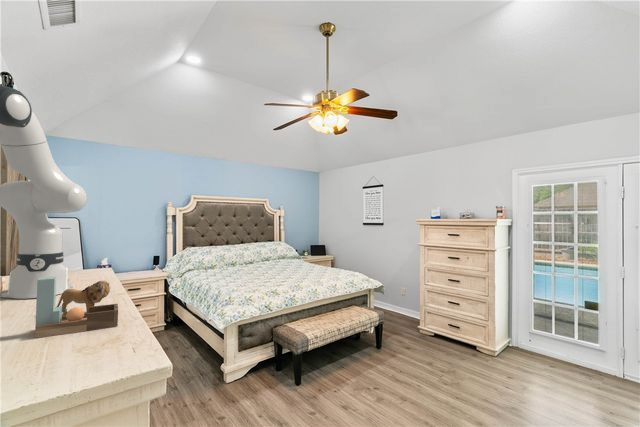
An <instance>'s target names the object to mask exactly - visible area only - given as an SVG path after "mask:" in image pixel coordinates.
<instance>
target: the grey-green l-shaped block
mask: <svg viewBox="0 0 640 427" xmlns="http://www.w3.org/2000/svg"><path fill="white" fill-rule="evenodd" d="M56 296H57V295H56V277H43V278H39V279H38V280H37V298H36V305H35V306H36V307H35V326H34V327H35V329H36V326H40V325H47V324H55V323H61V319H62V316H63V311H62V305H61V306H59V307H57V306H56V301H57V300H56Z"/></svg>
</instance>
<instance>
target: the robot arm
mask: <svg viewBox="0 0 640 427" xmlns="http://www.w3.org/2000/svg"><path fill="white" fill-rule="evenodd" d="M36 115H37V114H35V112H34V111H33V110H32V106H31V103H30V101H29V99H28V97H26V96H25V94H23V93H22V92H21V90H18V89H15V88H13V87H10V86H6V85H0V146H1V149H2V151H3V154H4V157H5V159H6V162H7V164H8V166H9V168H10V169H12V171H14V172H16V173H18V174H20V175H22V176H23V177H25V178H26V179H27V180H16V181H15V180H14V181H9V182H4V183H2V184H0V207H1V208H3V210H5V211H6V212H7V213H9V215H11V217H12V218H13V220H14V222H15V224H16V226H17V229H18V244H19V245H18V247H19V248H18V253H17V255H16V260H15V261H16V265H17V266H16V267H15V268H13V269H12V270H11V271H10V273H9V278H8V289H7V291H5V292H3V293H1V295H0V298H9V299H18V300H19V299H21V300H22V299H23V300H25V299H37V280H38V279H39V278H43V277H56V296H58V295H62V293H63V292H64V291H65V290H67V289H75V286H73V285H72V284H71V283H70V282H69V281H70V278H69V277H68V273H69V272H68V270H69V269H68V267H67V266H65V265H64V263H63V262H64V259H65V255H64V252H63V236H64V235H63V233H64V232H63V230H62V228H60V227H59V226H58V225H55V224H54V223H52V222H51V221H50V219H49V216H48V214H70V213H74V212H80V211H81V210H82V209H84V207H85V206H86V203H87V200H88V196H87V195H88V194H87V192H86V190H85V189H84V188H83V186H81V185H79V184H77V183H76V182H74V181H73V180H72V179H70V178H69V177H67V175H66V174H64V173H63V172H62V170H61V169H60V168H59V167H58V165H57V164H56V161H55V160H54V157H53V155H52V151H51V149H50V146H49V142H48V139H47V136H46V134H45V132H44V128H43V126H42V125H41V123H40V121H39V118H38V117H37V116H36Z"/></svg>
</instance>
